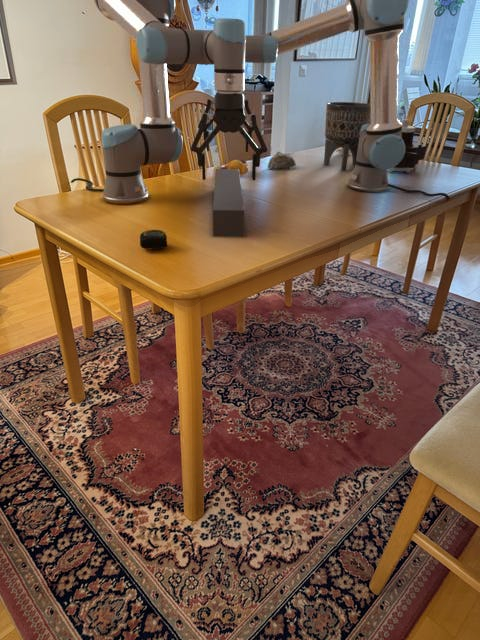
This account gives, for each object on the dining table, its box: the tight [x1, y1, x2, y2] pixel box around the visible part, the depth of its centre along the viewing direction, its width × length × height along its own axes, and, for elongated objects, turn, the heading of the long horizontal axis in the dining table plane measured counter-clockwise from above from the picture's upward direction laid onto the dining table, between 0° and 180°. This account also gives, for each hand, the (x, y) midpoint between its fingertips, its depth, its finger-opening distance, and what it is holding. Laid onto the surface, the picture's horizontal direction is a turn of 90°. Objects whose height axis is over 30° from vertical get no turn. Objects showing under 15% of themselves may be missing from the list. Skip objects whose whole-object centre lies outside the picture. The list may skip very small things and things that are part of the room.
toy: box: [219, 159, 249, 176], centre depth 192 cm, size 11×6×15 cm
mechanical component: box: [387, 119, 428, 174], centre depth 205 cm, size 22×21×30 cm
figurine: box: [335, 147, 352, 156], centre depth 235 cm, size 8×15×13 cm, turn 145°
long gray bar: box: [212, 168, 245, 237], centre depth 147 cm, size 52×9×7 cm, turn 2°
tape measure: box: [139, 229, 168, 250], centre depth 117 cm, size 7×7×4 cm
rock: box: [267, 151, 297, 171], centre depth 203 cm, size 13×9×6 cm, turn 131°
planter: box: [323, 101, 371, 172], centre depth 204 cm, size 20×20×26 cm
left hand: (228, 179), depth 124 cm, fingers open, 13 cm apart
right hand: (227, 151), depth 159 cm, fingers open, 13 cm apart
